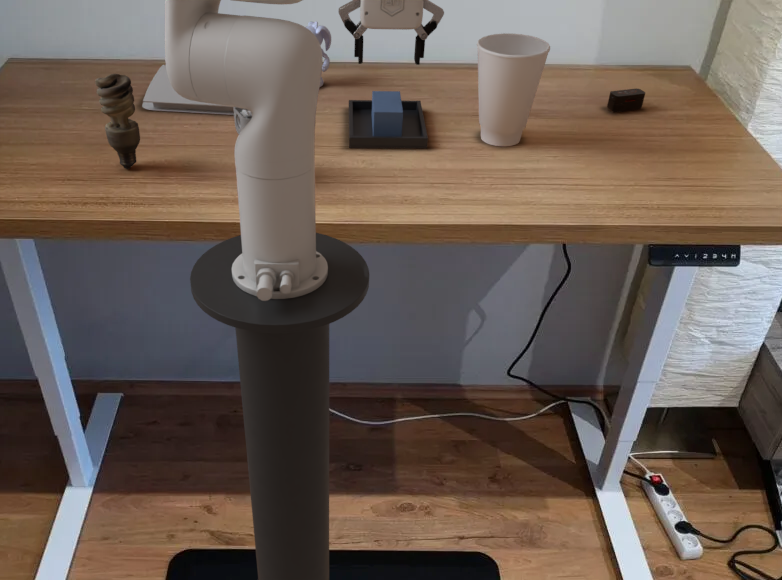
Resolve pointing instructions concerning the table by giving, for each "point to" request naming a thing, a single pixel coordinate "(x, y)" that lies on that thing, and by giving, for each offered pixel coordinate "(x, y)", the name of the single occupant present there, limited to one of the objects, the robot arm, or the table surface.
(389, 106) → the rectangular block
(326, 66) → the toy figurine
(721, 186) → the table surface
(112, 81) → the light bulb
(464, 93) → the table surface
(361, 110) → the black tray
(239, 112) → the mechanical component
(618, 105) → the wireless earbuds
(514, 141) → the cup
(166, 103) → the book
